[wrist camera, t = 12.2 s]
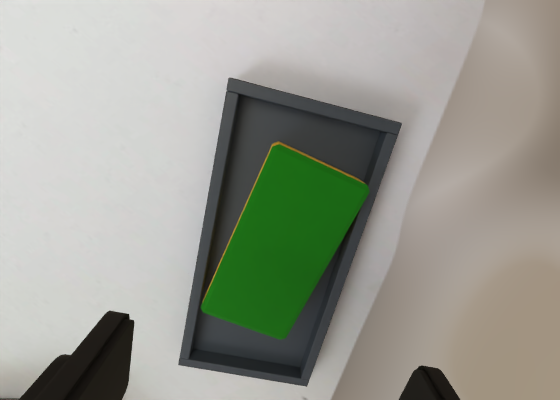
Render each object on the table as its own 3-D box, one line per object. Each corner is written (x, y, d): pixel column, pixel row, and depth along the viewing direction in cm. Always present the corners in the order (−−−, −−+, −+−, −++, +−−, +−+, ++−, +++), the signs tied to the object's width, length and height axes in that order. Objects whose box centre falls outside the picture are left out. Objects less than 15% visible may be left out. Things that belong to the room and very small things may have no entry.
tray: (232, 80, 19) (228, 77, 17) (391, 122, 20) (402, 123, 18) (184, 348, 25) (178, 365, 24) (305, 369, 26) (307, 386, 25)
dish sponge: (206, 292, 23) (198, 312, 21) (274, 138, 19) (274, 142, 17) (283, 320, 24) (284, 342, 22) (361, 179, 20) (373, 188, 18)
